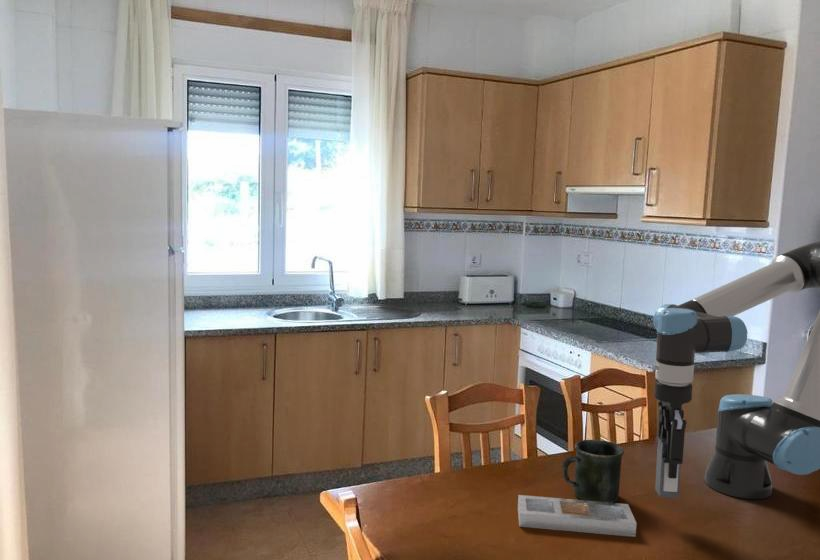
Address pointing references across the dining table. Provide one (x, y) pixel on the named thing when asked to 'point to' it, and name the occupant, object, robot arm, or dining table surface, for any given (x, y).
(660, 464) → the steel peg
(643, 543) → the dining table surface
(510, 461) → the dining table surface
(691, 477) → the dining table surface
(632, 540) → the dining table surface
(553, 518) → the white peg holder tray
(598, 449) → the mug
